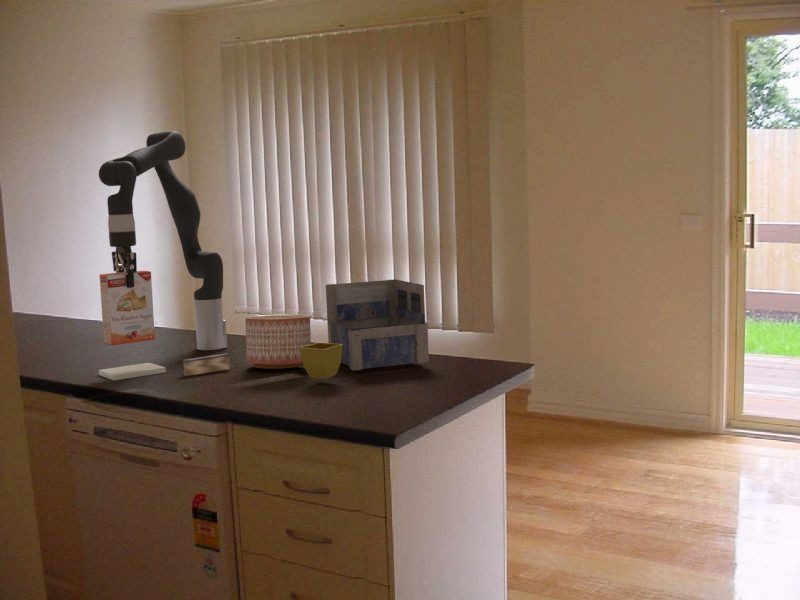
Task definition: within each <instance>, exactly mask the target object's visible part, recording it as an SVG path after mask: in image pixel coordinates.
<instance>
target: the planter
mask: <svg viewBox="0 0 800 600" xmlns="http://www.w3.org/2000/svg"><path fill="white" fill-rule="evenodd" d="M311 337H312V336H311V315H309V314H291V313H290V314H289V313H288V314H284V313H283V314H282V313H281V314H261V315H260V314H259V315H250V316H246V317H245V346H246V347H245V352H246V354H245V355H246V363H247V364H250V365H251V364H252V366H253V367H254V368H256V369H265V370H266V369H267V370H268V369H277V370H278V369H279V370H280V369H290V368H291V369H292V368H300V367H304V365H303V361H302V356H301V350H300V348H301V347H304V346H308V345H312V344H311V342H312V341H311Z"/></svg>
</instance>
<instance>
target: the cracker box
mask: <svg viewBox="0 0 800 600" xmlns="http://www.w3.org/2000/svg"><path fill="white" fill-rule="evenodd" d="M125 275H126V274H125V272H119V273H116V272H109V273H101V274H99V288H100V300H101V301H100V304H101V319H102V320H101V321H102V333H103V343H104V345H109V346H118V345H119V346H120V345H123V344H124V345H126V344H133V343H141V342H146V341H154V340H156V336H155V319H154V318H155V317H154V299H153V284H152V282H153V281H152V271H150V270H137V272H136V273H135V274H133V275H134V287H132V288H127V287H126V276H125Z"/></svg>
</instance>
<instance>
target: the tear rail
mask: <svg viewBox="0 0 800 600" xmlns="http://www.w3.org/2000/svg"><path fill="white" fill-rule="evenodd" d="M182 362H183V363H182V364H183V375H184V376H185V377H189V376H195V375H200V374H201V375H202V374H208V373H213V372H221V371H226V370H227V371H228V370H230V369H231V366H230V354H229V353H221V354H214V355H213V354H212V355H207V356H201V357H195V358H186V359H182Z"/></svg>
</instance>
